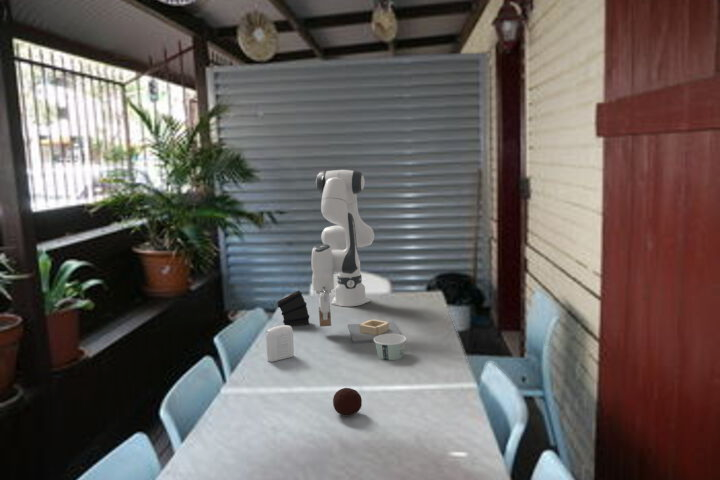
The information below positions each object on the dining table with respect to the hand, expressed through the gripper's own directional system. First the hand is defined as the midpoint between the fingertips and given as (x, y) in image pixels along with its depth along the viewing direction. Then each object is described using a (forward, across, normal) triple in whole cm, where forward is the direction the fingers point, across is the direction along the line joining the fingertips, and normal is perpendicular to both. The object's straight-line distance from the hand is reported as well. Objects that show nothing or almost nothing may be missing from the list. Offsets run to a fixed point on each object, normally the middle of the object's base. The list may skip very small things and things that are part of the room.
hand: (324, 317), depth 241 cm
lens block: (+3, 0, 0) cm, 3 cm away
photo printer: (+7, -24, +18) cm, 31 cm away
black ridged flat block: (+8, +18, +13) cm, 23 cm away
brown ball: (+7, -76, -2) cm, 76 cm away
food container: (+7, -30, -22) cm, 38 cm away
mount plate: (+8, -2, -20) cm, 22 cm away
